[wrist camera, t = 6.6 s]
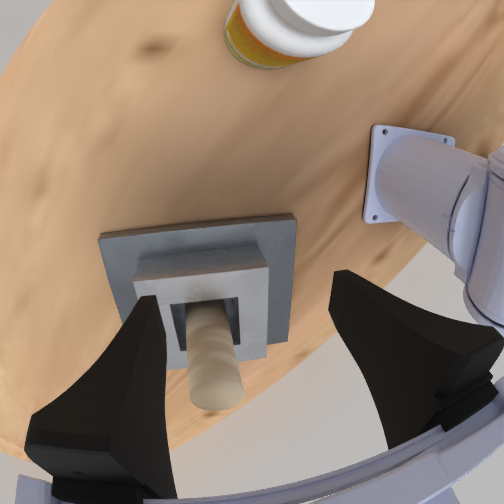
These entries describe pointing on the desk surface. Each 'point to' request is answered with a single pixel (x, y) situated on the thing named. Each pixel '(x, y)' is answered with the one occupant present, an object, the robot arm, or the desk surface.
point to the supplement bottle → (291, 29)
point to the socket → (209, 277)
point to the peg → (211, 356)
